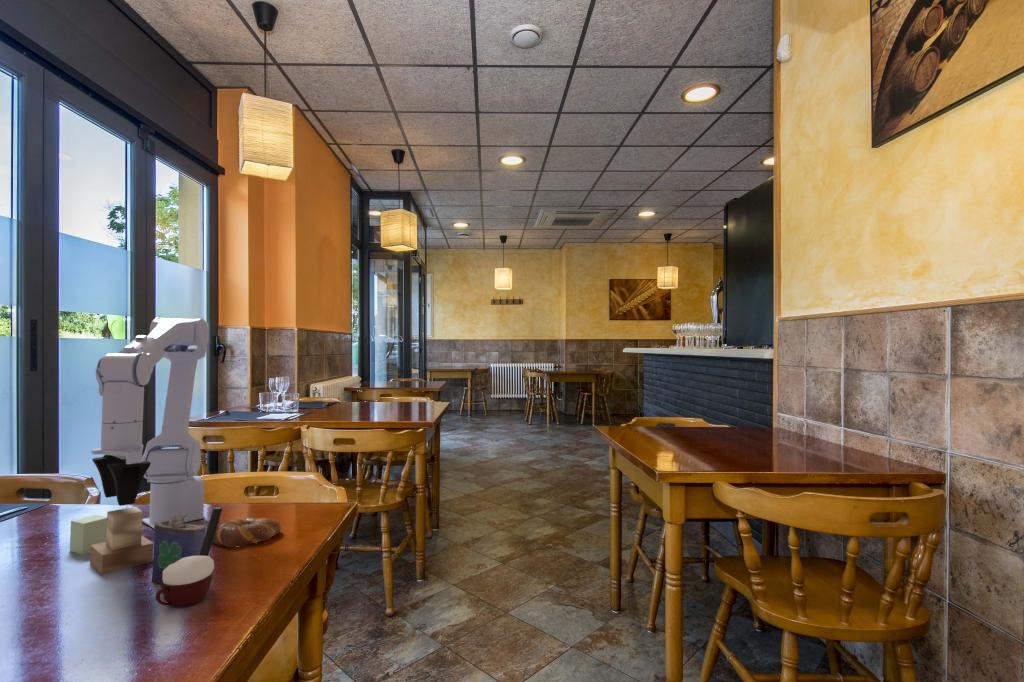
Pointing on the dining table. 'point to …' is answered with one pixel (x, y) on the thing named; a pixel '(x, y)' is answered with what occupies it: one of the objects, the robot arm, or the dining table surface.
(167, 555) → the flask
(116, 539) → the beech block
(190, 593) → the cocoa
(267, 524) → the pretzel
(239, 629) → the dining table surface
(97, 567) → the walnut slab
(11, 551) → the dining table surface
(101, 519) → the sage block
